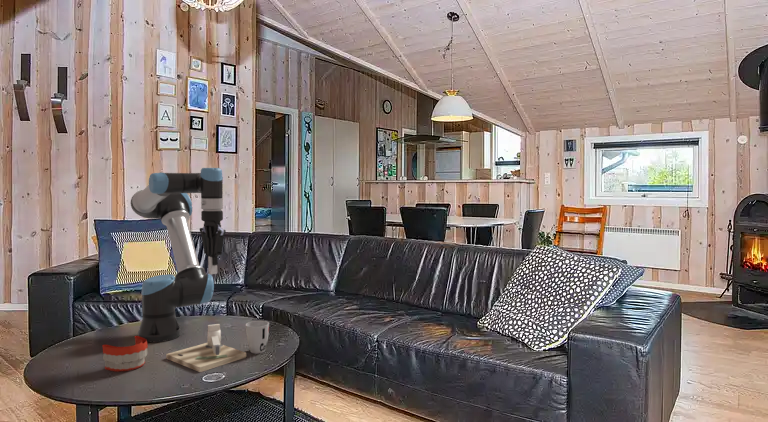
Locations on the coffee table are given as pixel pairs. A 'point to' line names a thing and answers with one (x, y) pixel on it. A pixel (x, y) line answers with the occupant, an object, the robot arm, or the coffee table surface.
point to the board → (205, 357)
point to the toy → (125, 356)
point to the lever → (214, 338)
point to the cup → (257, 336)
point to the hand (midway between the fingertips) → (213, 273)
